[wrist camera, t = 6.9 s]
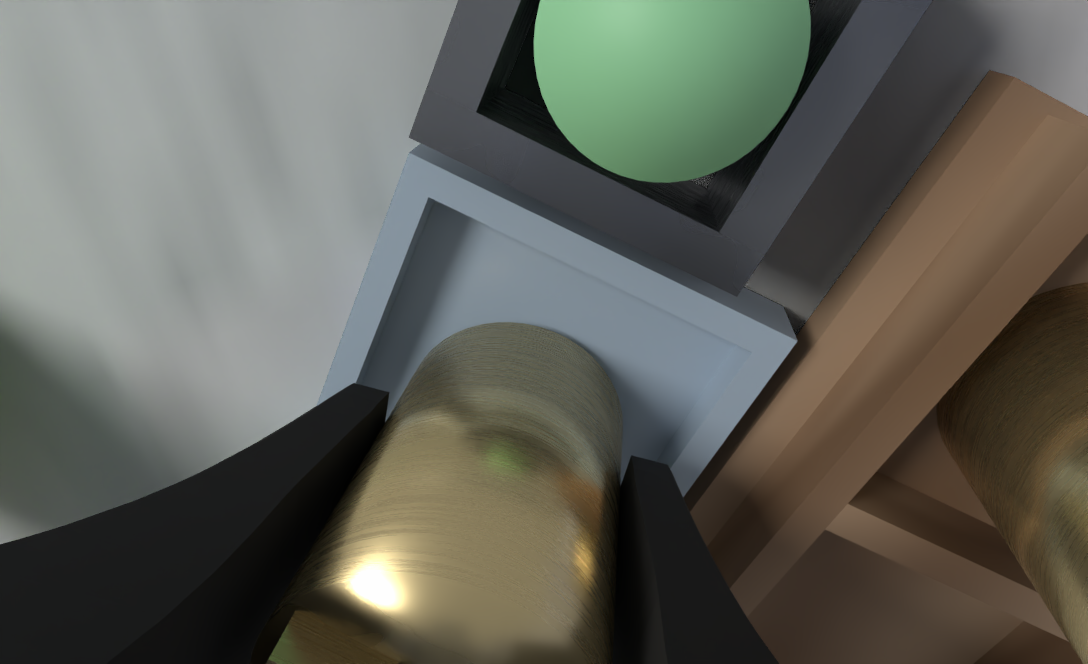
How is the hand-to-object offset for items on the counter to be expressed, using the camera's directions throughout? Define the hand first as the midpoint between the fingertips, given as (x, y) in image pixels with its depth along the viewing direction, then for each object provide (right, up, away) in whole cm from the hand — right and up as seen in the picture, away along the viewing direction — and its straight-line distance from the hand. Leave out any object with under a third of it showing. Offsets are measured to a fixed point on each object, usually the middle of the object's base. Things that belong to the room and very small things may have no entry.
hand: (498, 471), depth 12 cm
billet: (0, +1, +1) cm, 2 cm away
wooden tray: (+8, -1, +2) cm, 8 cm away
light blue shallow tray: (0, +1, +2) cm, 2 cm away
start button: (+2, +7, -2) cm, 7 cm away
